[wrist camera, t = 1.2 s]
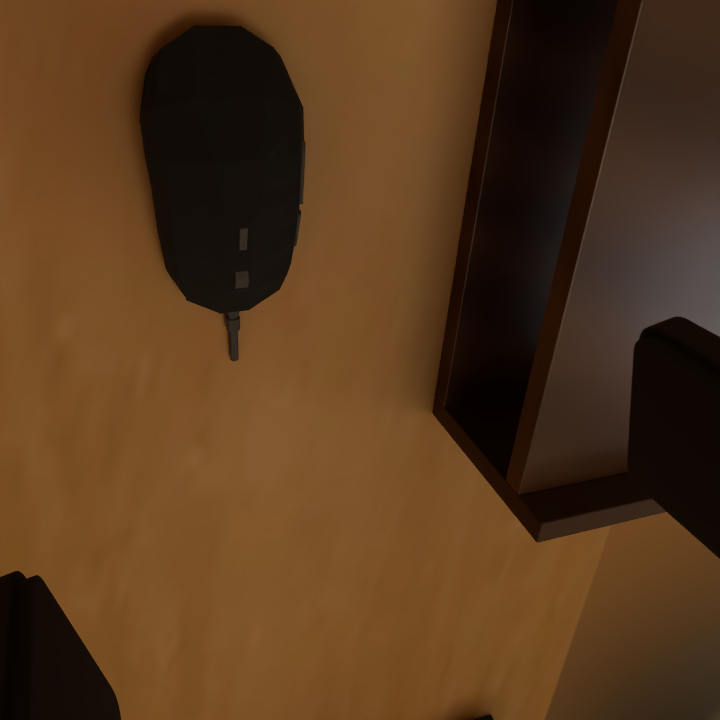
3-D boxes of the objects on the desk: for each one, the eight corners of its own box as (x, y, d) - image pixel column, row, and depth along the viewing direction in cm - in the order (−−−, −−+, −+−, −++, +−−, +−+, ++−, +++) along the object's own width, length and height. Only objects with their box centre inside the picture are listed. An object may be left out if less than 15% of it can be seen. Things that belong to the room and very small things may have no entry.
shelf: (509, -75, 29) (710, -84, 20) (724, -47, 33) (970, -44, 24) (432, 413, 41) (536, 543, 32) (597, 388, 45) (730, 497, 36)
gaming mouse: (168, 366, 33) (180, 412, 30) (127, 22, 25) (137, 32, 22) (295, 348, 35) (319, 388, 32) (292, 24, 27) (323, 34, 24)
